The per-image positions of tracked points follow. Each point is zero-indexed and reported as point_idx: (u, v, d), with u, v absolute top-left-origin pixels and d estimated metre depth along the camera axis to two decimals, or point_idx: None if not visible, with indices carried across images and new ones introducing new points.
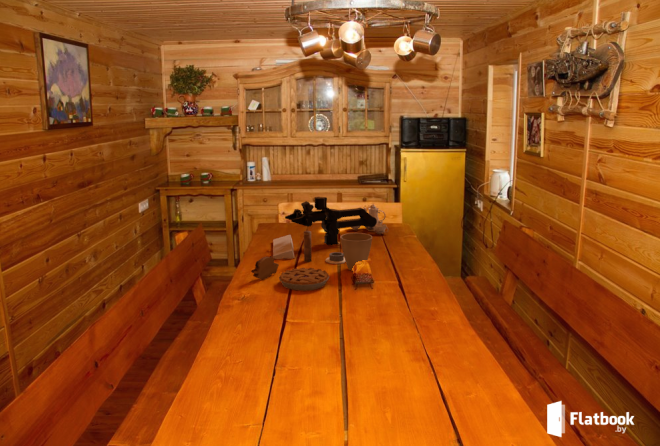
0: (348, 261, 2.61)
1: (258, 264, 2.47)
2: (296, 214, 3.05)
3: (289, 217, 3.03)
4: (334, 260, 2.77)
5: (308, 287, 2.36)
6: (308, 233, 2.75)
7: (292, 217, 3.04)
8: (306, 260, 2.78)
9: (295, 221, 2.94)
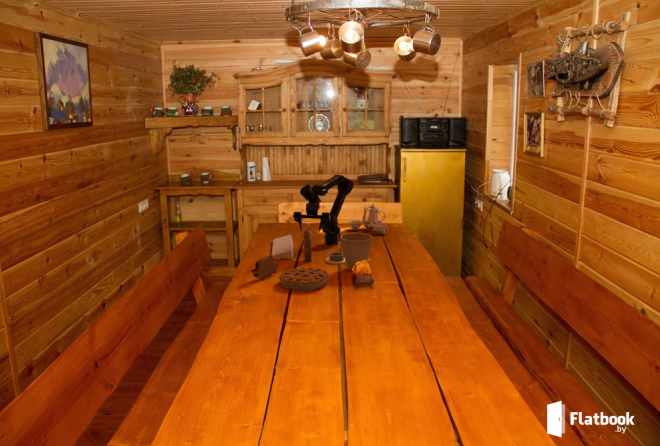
0: (348, 261, 2.61)
1: (258, 264, 2.47)
2: (301, 218, 2.88)
3: (301, 226, 2.87)
4: (334, 260, 2.77)
5: (308, 287, 2.36)
6: (308, 233, 2.75)
7: (301, 223, 2.88)
8: (306, 260, 2.78)
9: (321, 228, 2.85)
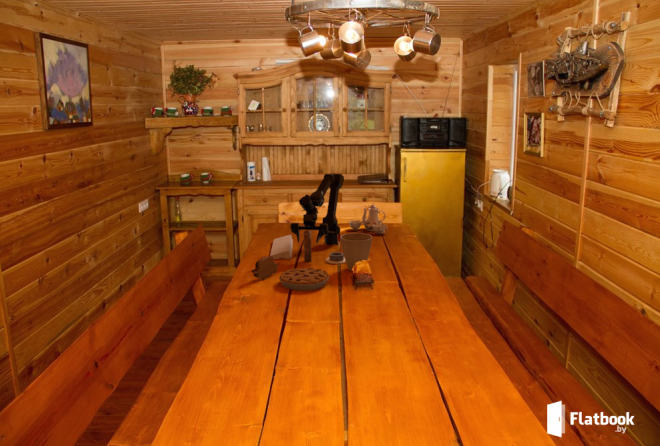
0: (348, 261, 2.61)
1: (258, 264, 2.47)
2: (298, 229, 2.82)
3: (299, 238, 2.80)
4: (334, 260, 2.77)
5: (308, 287, 2.36)
6: (308, 233, 2.75)
7: (299, 235, 2.81)
8: (306, 260, 2.78)
9: (318, 240, 2.79)
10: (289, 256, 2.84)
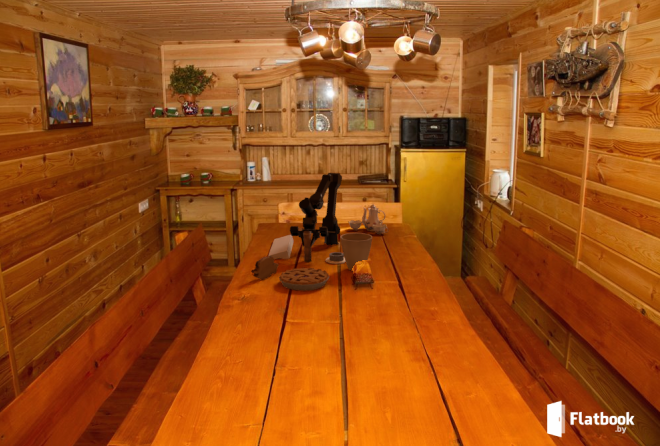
0: (348, 261, 2.61)
1: (258, 264, 2.47)
2: (303, 233, 2.80)
3: None
4: (334, 260, 2.77)
5: (308, 287, 2.36)
6: (308, 233, 2.75)
7: (303, 238, 2.80)
8: (306, 260, 2.78)
9: (313, 243, 2.78)
10: (287, 256, 2.84)
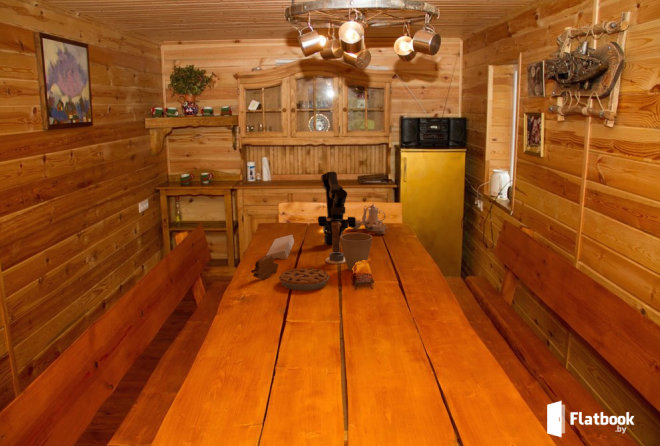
0: (348, 261, 2.61)
1: (258, 264, 2.47)
2: (331, 223, 2.79)
3: None
4: (334, 260, 2.77)
5: (308, 287, 2.36)
6: (337, 223, 2.74)
7: None
8: (334, 250, 2.77)
9: (341, 233, 2.77)
10: (285, 256, 2.84)
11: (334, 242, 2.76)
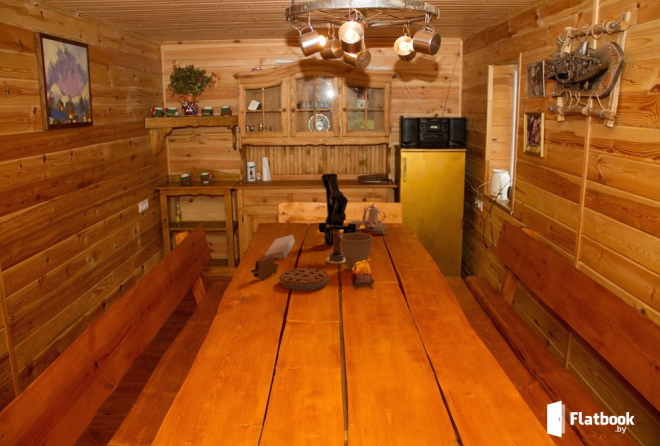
0: (348, 261, 2.61)
1: (258, 264, 2.47)
2: (330, 229, 2.80)
3: (330, 238, 2.78)
4: (334, 260, 2.77)
5: (308, 287, 2.36)
6: (337, 232, 2.75)
7: (330, 235, 2.80)
8: None
9: None
10: (283, 256, 2.84)
11: (335, 250, 2.77)
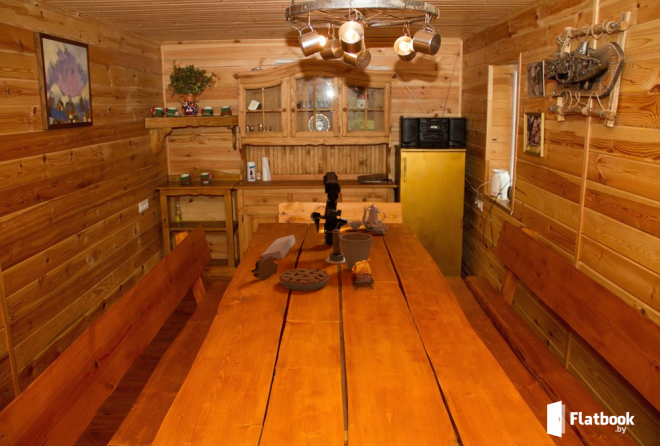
0: (348, 261, 2.61)
1: (258, 264, 2.47)
2: None
3: None
4: (334, 260, 2.77)
5: (307, 287, 2.36)
6: (337, 231, 2.75)
7: None
8: None
9: None
10: (280, 256, 2.84)
11: (335, 250, 2.77)
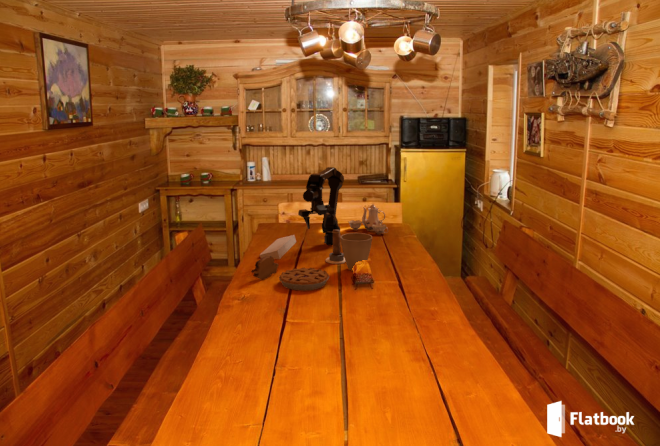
0: (348, 261, 2.61)
1: (258, 264, 2.47)
2: None
3: None
4: (334, 260, 2.77)
5: (307, 287, 2.36)
6: (337, 231, 2.75)
7: None
8: None
9: None
10: (277, 256, 2.84)
11: (335, 250, 2.77)
